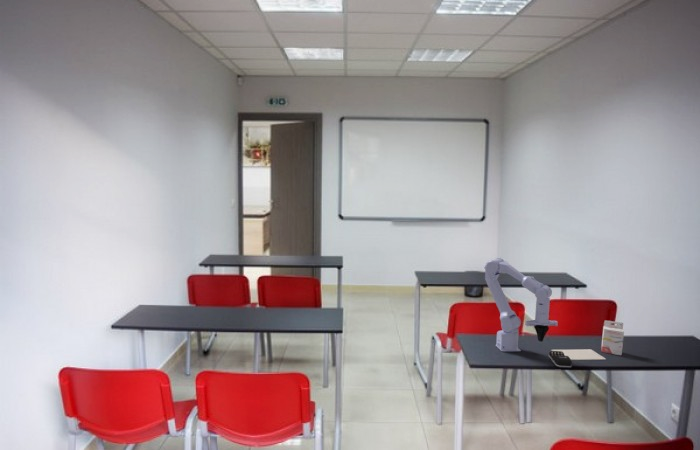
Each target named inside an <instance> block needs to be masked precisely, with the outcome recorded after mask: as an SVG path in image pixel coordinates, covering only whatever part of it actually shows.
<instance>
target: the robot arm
mask: <svg viewBox="0 0 700 450" xmlns="http://www.w3.org/2000/svg"><path fill="white" fill-rule="evenodd" d="M484 271H485V272H484V280H485V282H486V284H487V287H488V289H489V291H490V293H491V295H492V298H493V300H494V303H495V304H496V307H497V309H498V311H499V314H500V316H499V320H500V326H501V329H502V330H498V331H497V332H496V342H495V343H496V344H495V347H497V349H499V350H500V352H521V349H520V348H519V343H518V342H519V331H520V330H519V328H520V326H521V325H522V321H521V319H520V317H519V316H517V314H516V312H515V311H514V310H512V308H511V305H510V304H509V302H508V300H507V298H506V295H505V293H504V291H503V289H502V287H501V284H500V282H499V280H498V278H499V277H500V274H507V275H509V276H511V277H513V278H514V279H516V280H517V281H519V282H520V283H521V286H522V287H523V288H525V289H526V290H528V291H529V292H531V293H532V294H534V296H535V298H536V301H535V315H534V319H531V320H525V323H524V324H525V326H526V327H531V326H533V328H534V329H535V333H536V336H537V340H538V342H543V341H544V338H545V336H546V334H547V332H548V331H549V329H550V327H551V326H554V327H558V323H559V322H558V321H557V320H549V318H550V301H551V300H550V298H551V296H552V294H553V291H552V288H551V287H549V285H548V284H544V283H542V282H540V281H538V280H537V279H535V277H534V276H531V275H527V276H526V275H524V274H523V273H522V272H520V271H519V270H518V269H517V268H515V267H514V266H512V265H511V264H510V263H509V262H508V261H506V260H504V259H502V257H500V258H499V257H498V258H494V259H491V260H488V261H487V262H486V263H485V265H484ZM549 326H550V327H549Z"/></svg>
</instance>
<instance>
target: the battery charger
mask: <svg viewBox="0 0 700 450" xmlns="http://www.w3.org/2000/svg"><path fill="white" fill-rule="evenodd" d="M548 358H549V360H551V362H552V363H553V364H554V365H555V367H557V368H560V369H563V368H564V369H572V366H573V365H572V364H573V362H572V361H573V360H571V359H570V358H569V357H568V356H565V355H564V353H563V352H562V351H551V350H550V351H549V353H548Z"/></svg>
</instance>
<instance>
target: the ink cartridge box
mask: <svg viewBox="0 0 700 450" xmlns="http://www.w3.org/2000/svg"><path fill="white" fill-rule="evenodd" d="M623 328H624V323H623V322H620V321H612V320H606V319H605V320H604V322H603V326H602V336H601V337H602V338H601V347H600V350H601V353H604V354H605V353H606V354H610V355H611V354H613V355H616V356H617V355H618V356H622V353H623V344H624V337H625V336H624V334H625V332H624V331H625V330H624V329H623Z"/></svg>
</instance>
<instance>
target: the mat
mask: <svg viewBox="0 0 700 450" xmlns="http://www.w3.org/2000/svg"><path fill="white" fill-rule="evenodd" d="M550 351H562V352H563V353H564V355H565V356H568V357H569V358H570V359H571V361H606V360H607V358H605V357H604V356H602V355H601V354H599V353H597V352H596V351H595V350H593V349H591V348H590V349H589V348H588V349H587V348H586V349H584V348H583V349H551V350H550Z"/></svg>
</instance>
